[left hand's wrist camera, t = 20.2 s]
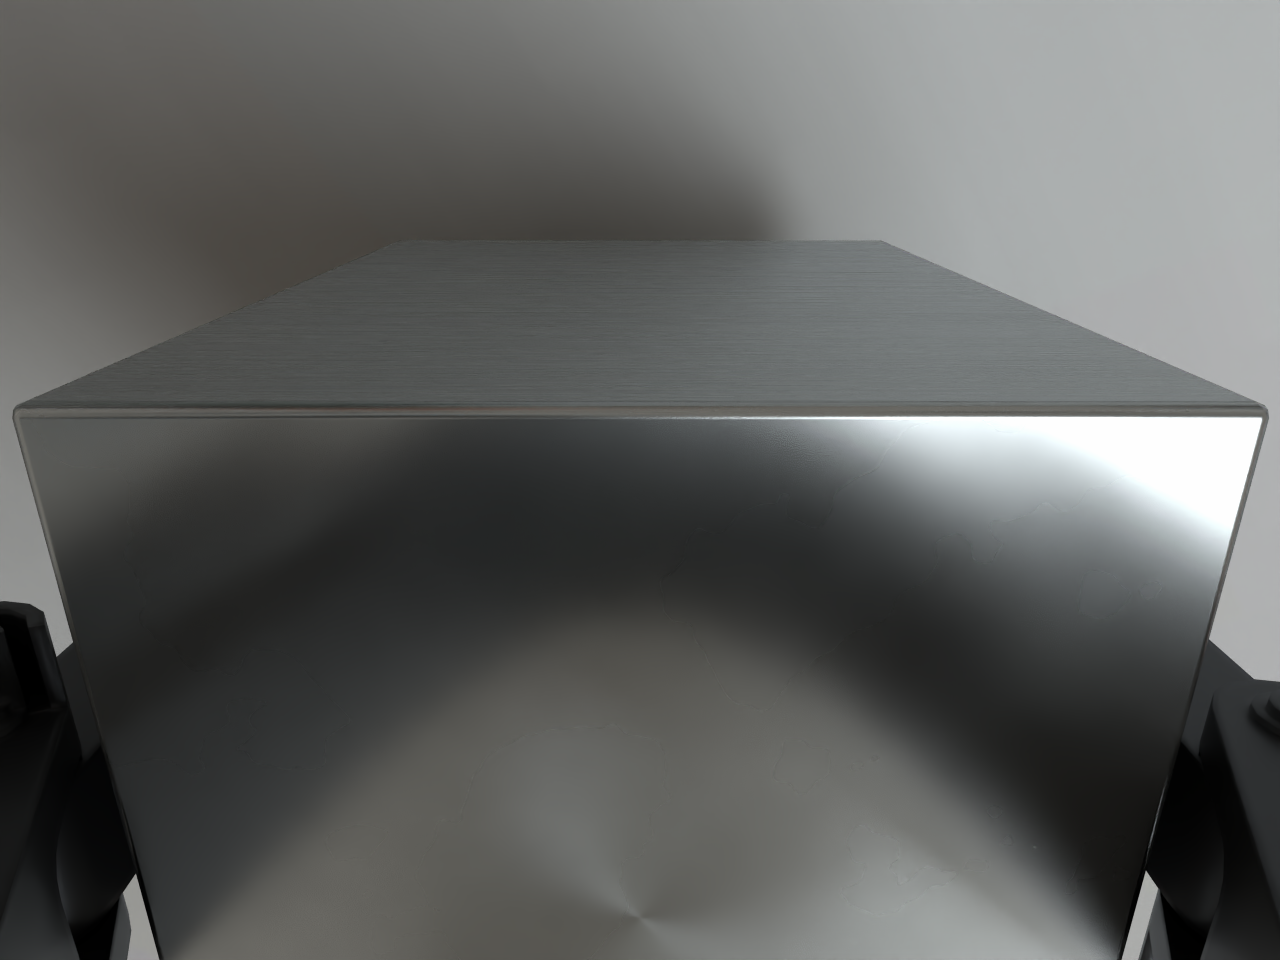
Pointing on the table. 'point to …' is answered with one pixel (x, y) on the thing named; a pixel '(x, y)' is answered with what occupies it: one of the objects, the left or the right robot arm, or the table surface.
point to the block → (640, 607)
